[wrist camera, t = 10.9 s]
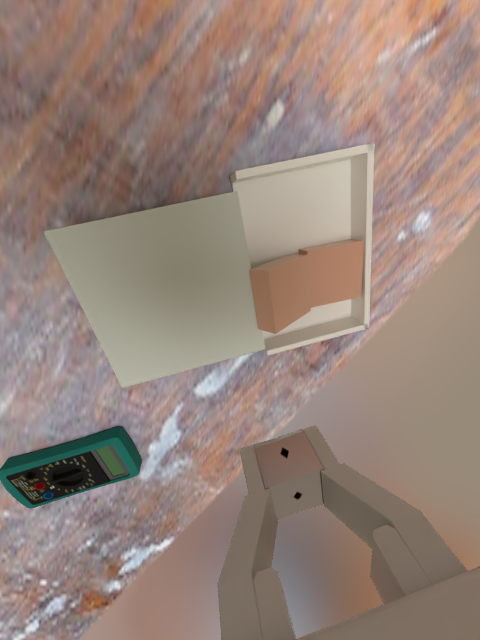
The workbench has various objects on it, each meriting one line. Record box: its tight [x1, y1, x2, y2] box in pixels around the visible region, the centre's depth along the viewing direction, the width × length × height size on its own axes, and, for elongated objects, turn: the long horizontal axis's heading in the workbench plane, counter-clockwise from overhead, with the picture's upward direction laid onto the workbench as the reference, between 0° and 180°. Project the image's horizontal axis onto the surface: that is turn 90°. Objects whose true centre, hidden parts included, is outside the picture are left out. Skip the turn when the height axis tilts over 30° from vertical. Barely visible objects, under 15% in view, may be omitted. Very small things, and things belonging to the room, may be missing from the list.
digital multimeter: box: [0, 427, 142, 508], centre depth 31 cm, size 7×15×3 cm, turn 102°
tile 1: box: [298, 239, 364, 308], centre depth 26 cm, size 6×6×2 cm
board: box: [44, 191, 265, 388], centre depth 24 cm, size 15×15×4 cm
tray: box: [230, 143, 374, 355], centre depth 25 cm, size 18×12×3 cm
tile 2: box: [249, 255, 311, 334], centre depth 24 cm, size 6×6×2 cm
